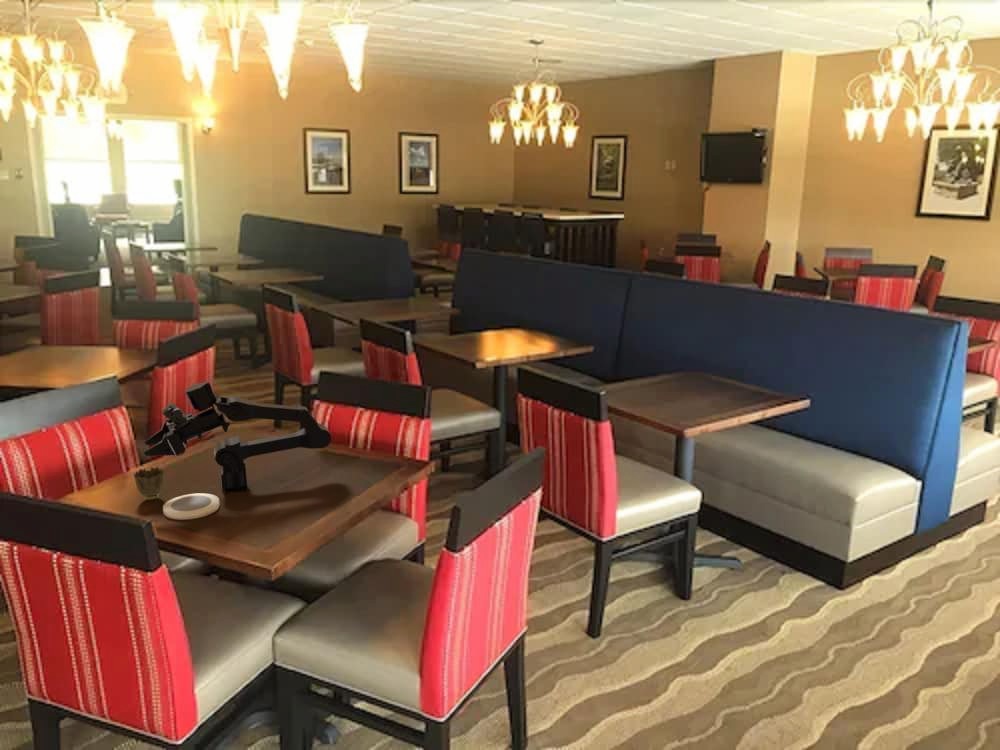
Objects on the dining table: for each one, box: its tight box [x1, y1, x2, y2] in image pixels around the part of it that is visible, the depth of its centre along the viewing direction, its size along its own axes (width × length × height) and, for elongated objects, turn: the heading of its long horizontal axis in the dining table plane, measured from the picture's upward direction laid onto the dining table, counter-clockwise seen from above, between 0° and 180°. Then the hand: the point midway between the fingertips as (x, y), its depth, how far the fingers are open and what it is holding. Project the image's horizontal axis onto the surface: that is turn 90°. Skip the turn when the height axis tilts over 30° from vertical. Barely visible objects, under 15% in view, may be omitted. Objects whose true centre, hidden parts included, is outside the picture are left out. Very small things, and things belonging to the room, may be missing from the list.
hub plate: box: [162, 492, 220, 521], centre depth 214 cm, size 14×14×2 cm
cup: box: [133, 466, 165, 502], centre depth 220 cm, size 8×7×8 cm
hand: (145, 448), depth 217 cm, fingers open, 9 cm apart
